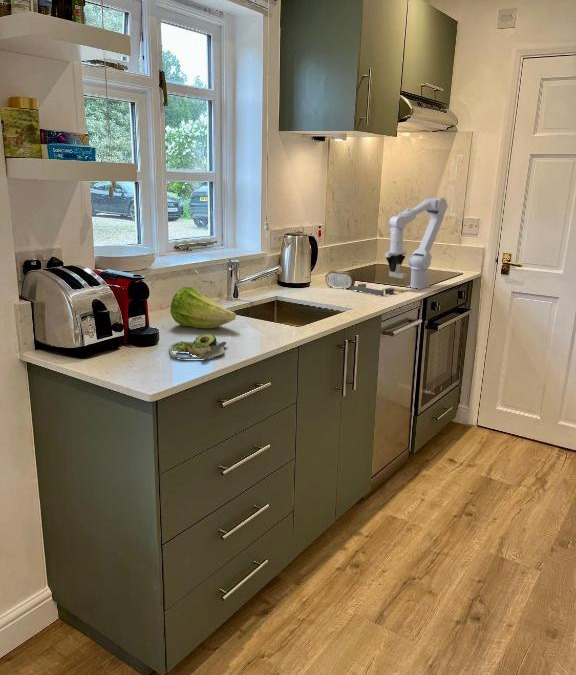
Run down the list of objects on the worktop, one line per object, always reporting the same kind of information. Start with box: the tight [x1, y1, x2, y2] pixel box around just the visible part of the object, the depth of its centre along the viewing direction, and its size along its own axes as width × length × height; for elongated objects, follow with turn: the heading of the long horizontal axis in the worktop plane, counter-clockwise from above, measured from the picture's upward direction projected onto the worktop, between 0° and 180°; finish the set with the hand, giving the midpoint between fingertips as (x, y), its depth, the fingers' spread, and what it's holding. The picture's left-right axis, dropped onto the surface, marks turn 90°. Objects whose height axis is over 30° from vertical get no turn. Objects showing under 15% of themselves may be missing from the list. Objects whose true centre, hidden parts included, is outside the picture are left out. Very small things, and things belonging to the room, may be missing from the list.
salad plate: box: [168, 333, 227, 360], centre depth 175 cm, size 19×18×5 cm
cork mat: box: [381, 287, 409, 294], centre depth 277 cm, size 8×10×1 cm
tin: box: [325, 270, 356, 289], centre depth 281 cm, size 15×3×8 cm, turn 59°
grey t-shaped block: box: [388, 263, 408, 280], centre depth 273 cm, size 4×8×6 cm, turn 45°
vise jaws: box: [350, 283, 395, 297], centre depth 272 cm, size 9×20×2 cm, turn 45°
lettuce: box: [169, 286, 237, 329], centre depth 204 cm, size 14×24×15 cm
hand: (394, 271), depth 275 cm, fingers closed on grey t-shaped block, 4 cm apart
